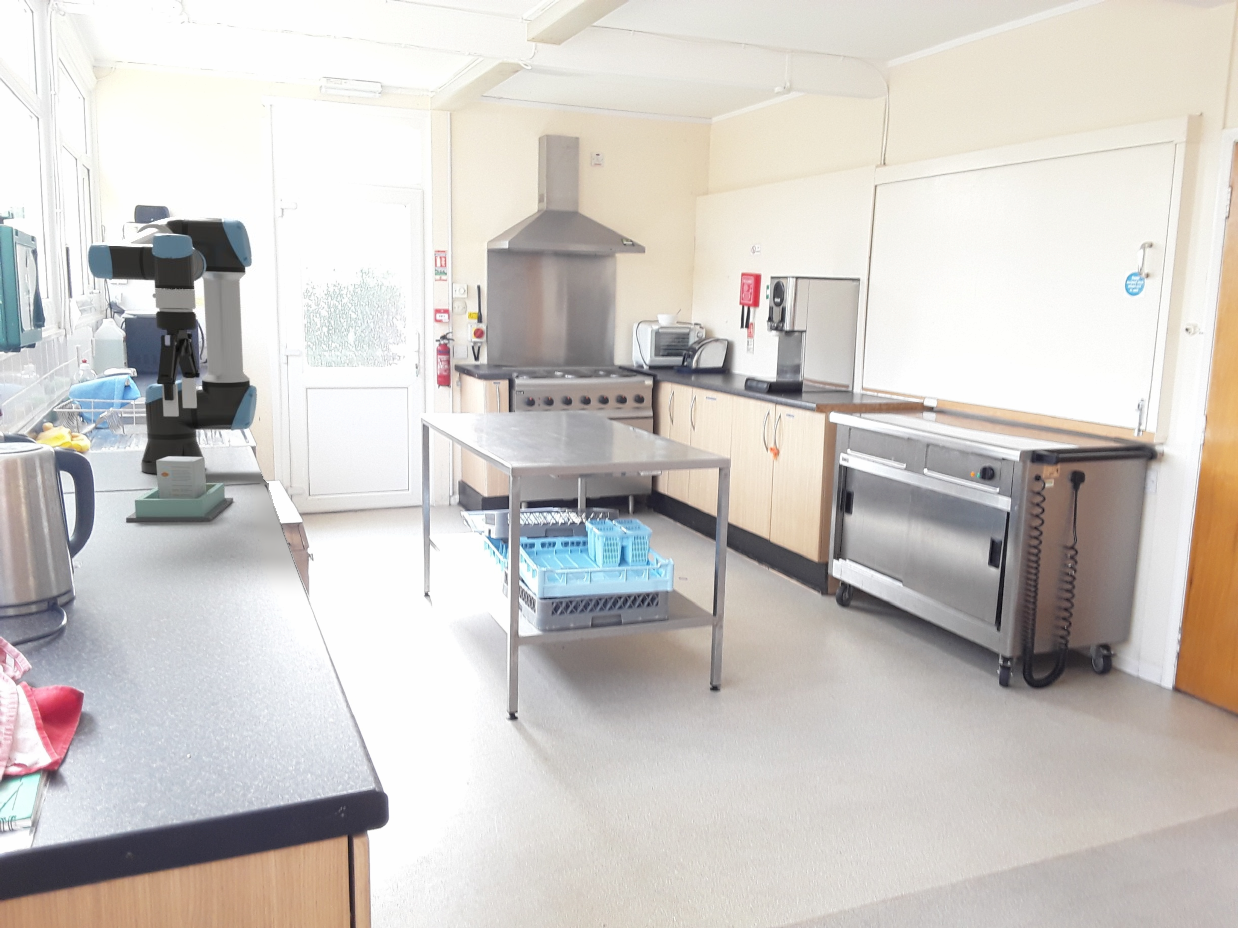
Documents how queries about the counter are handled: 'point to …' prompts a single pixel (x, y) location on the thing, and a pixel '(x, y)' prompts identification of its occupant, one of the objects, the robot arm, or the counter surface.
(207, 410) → the robot arm
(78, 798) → the counter surface
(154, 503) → the caddy
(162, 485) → the small box
